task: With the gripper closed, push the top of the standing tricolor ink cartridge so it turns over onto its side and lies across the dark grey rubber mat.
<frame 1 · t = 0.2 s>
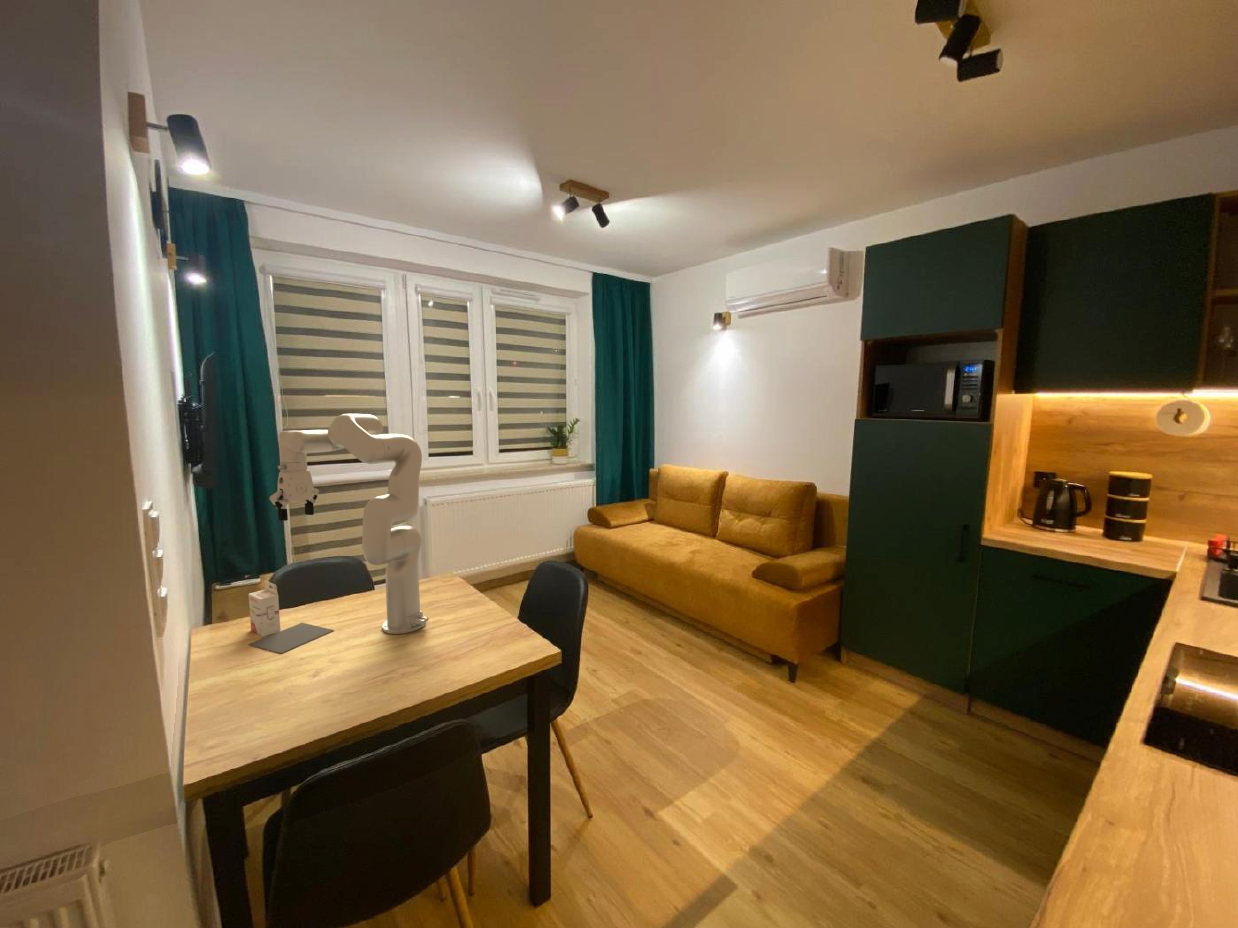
hand: (296, 517, 168), 31 cm above the table, tool pointing down, fingers open, 9 cm apart
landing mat: (292, 637, 147), on the table
ink cartridge box: (265, 631, 151), on the table
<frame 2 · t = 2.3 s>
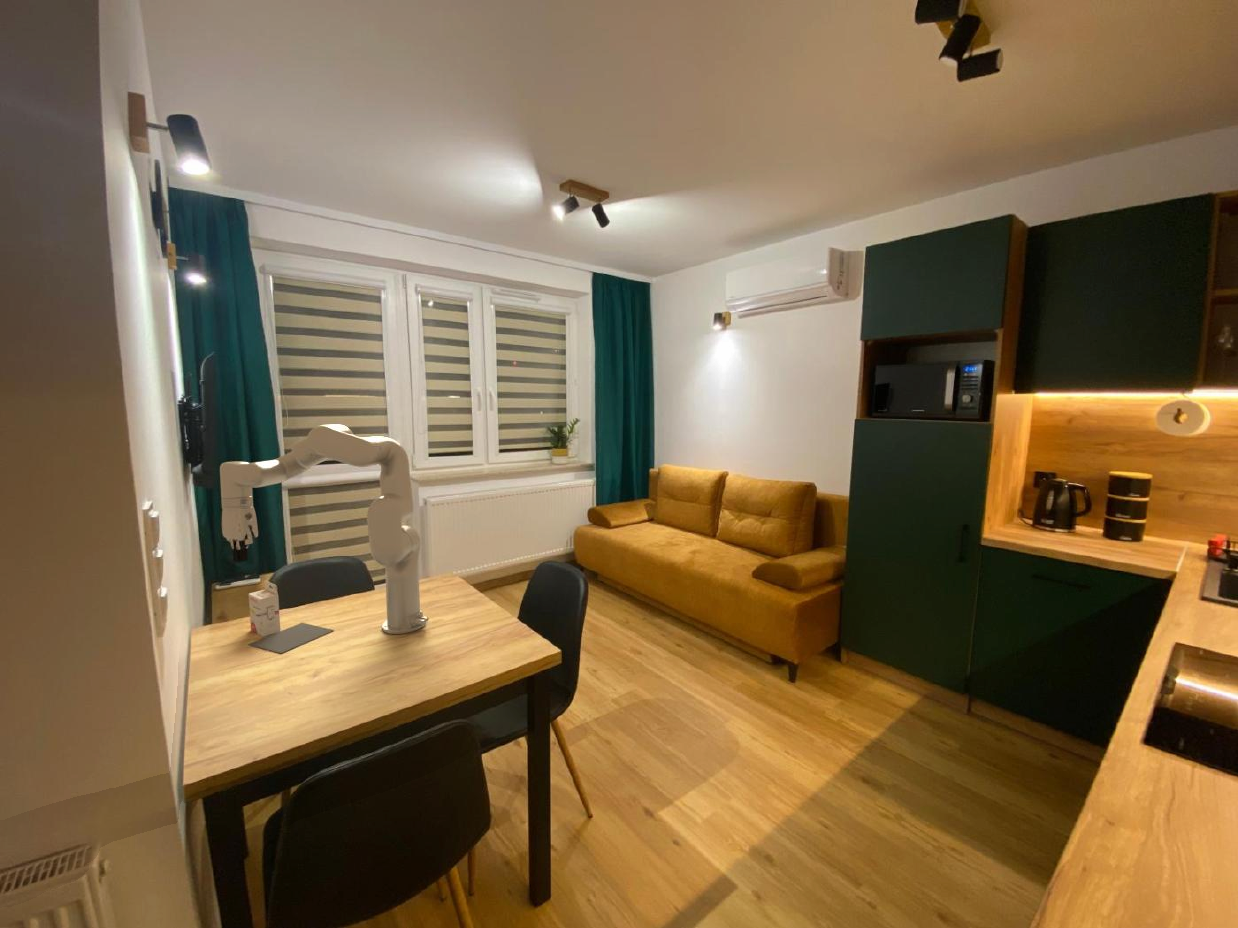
hand: (240, 561, 153), 21 cm above the table, tool pointing down, fingers closed
nothing on the table moved.
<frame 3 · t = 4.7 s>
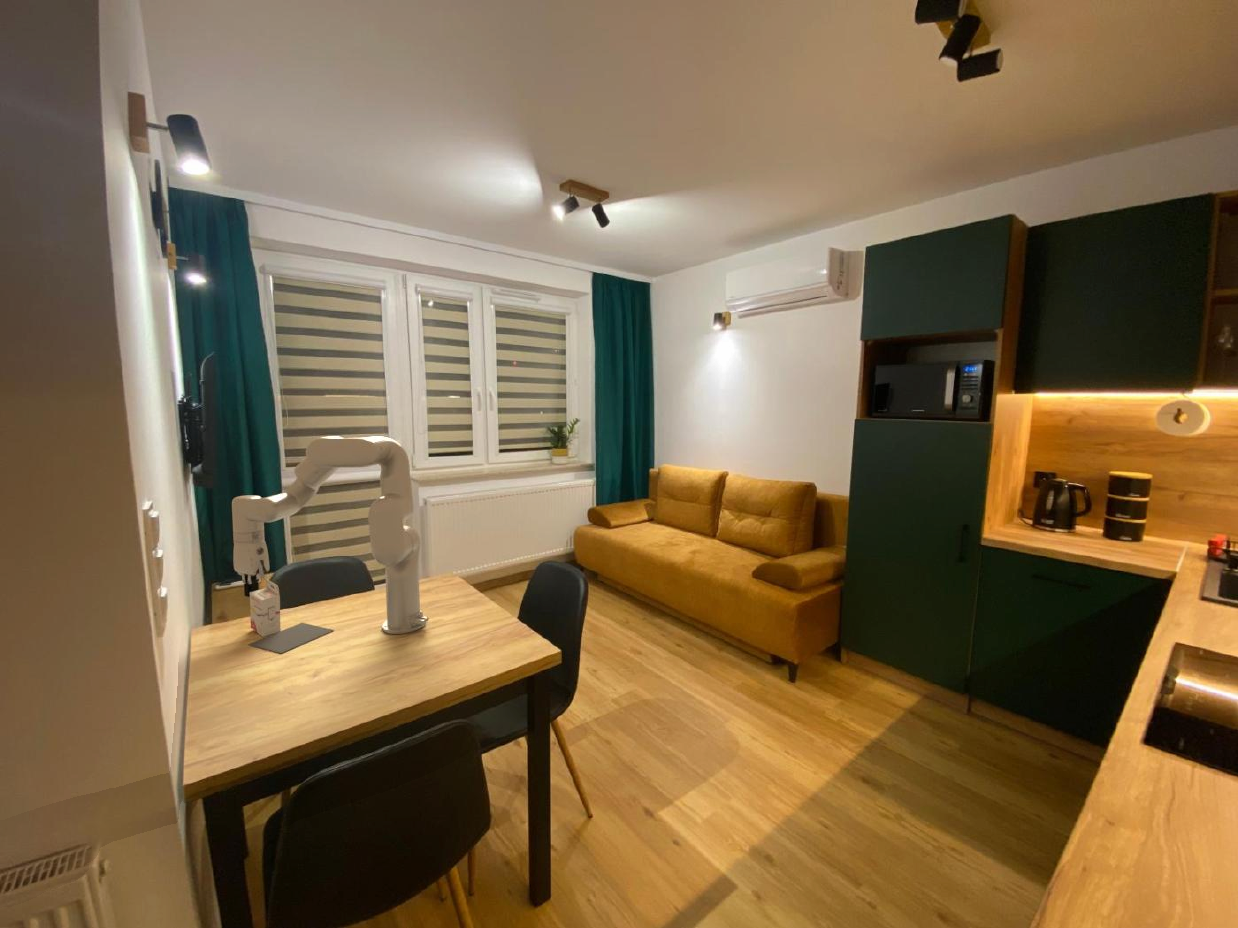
hand: (251, 595, 152), 11 cm above the table, tool pointing down, fingers closed
ink cartridge box: (265, 630, 151), on the table, touching gripper
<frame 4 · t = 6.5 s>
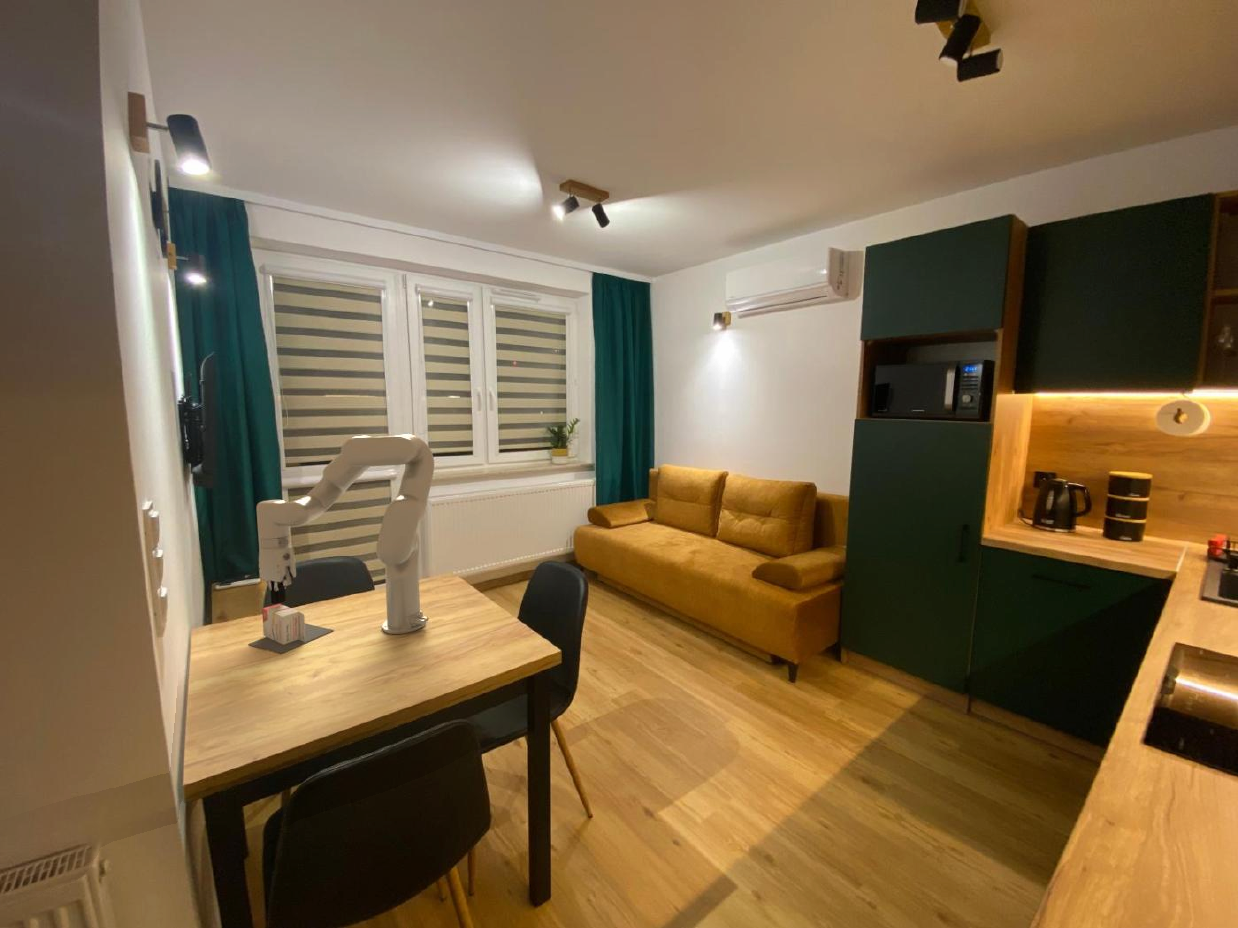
hand: (278, 602, 148), 10 cm above the table, tool pointing down, fingers closed
ink cartridge box: (270, 619, 149), point 5 cm above the table, touching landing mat
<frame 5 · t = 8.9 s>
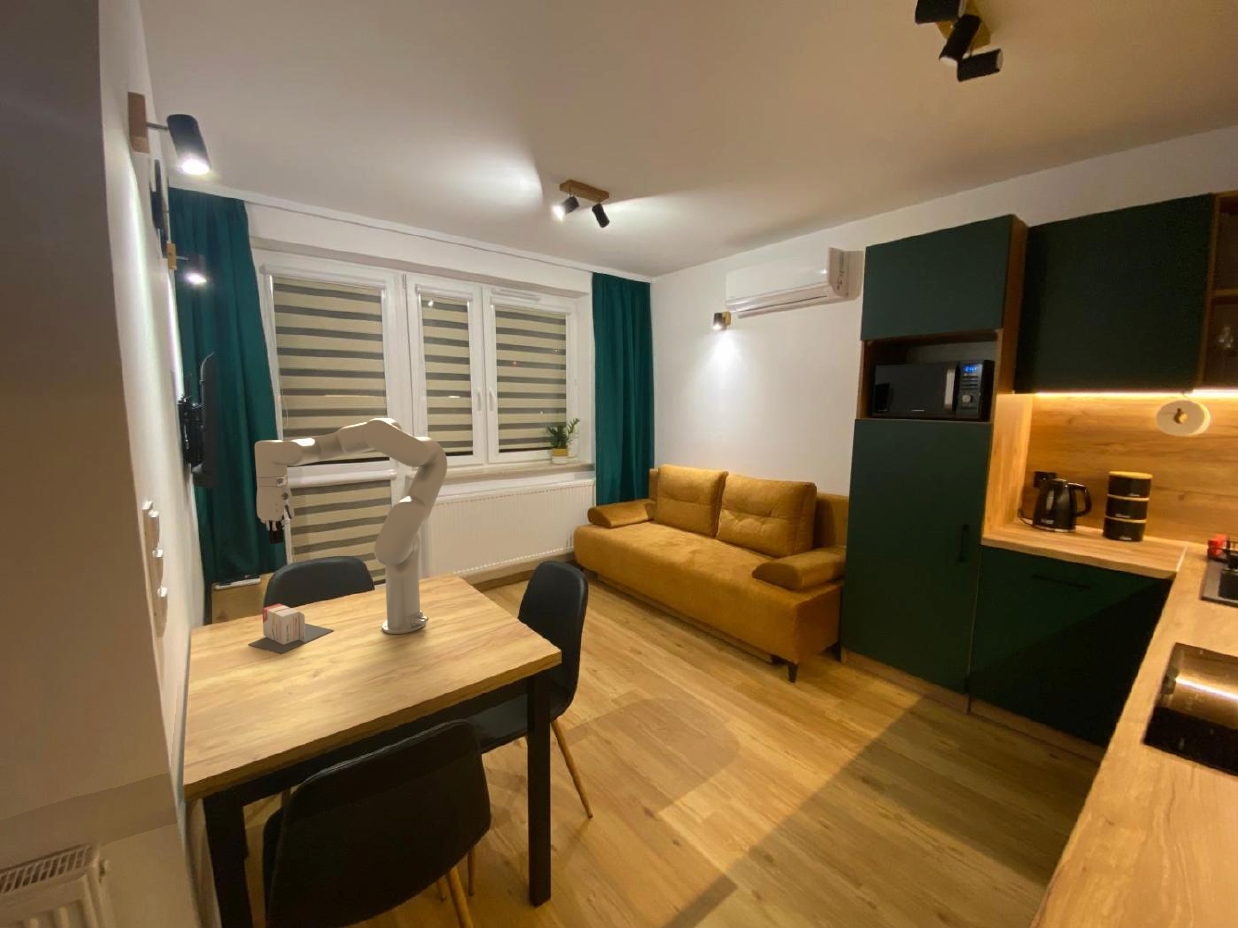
hand: (276, 542, 148), 28 cm above the table, tool pointing down, fingers closed
nothing on the table moved.
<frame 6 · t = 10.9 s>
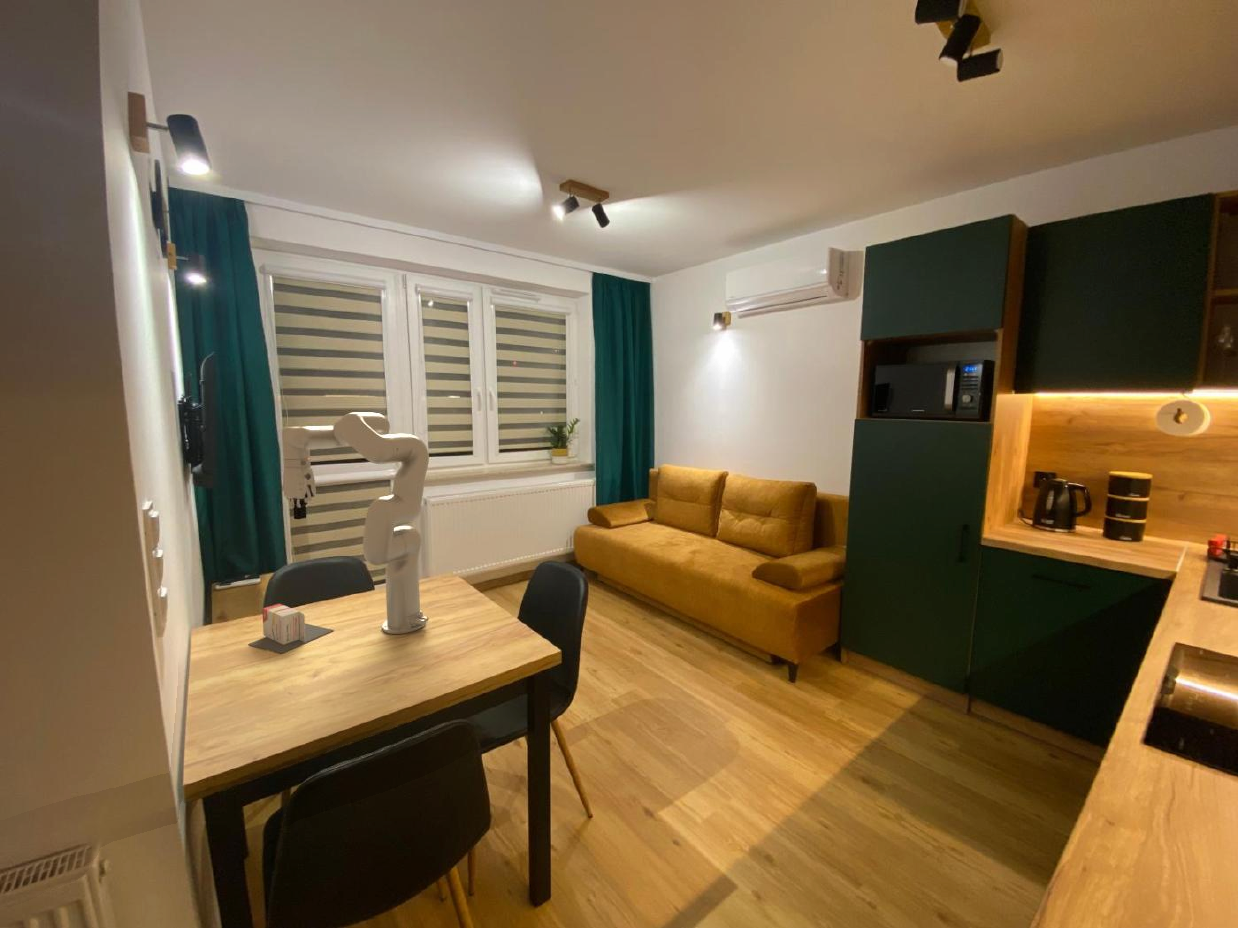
hand: (300, 518, 166), 31 cm above the table, tool pointing down, fingers closed
nothing on the table moved.
at the end: ink cartridge box tilted 89°; ink cartridge box touching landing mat; ink cartridge box inside the target area (0.7 cm from its centre), point 4.5 cm above the table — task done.
